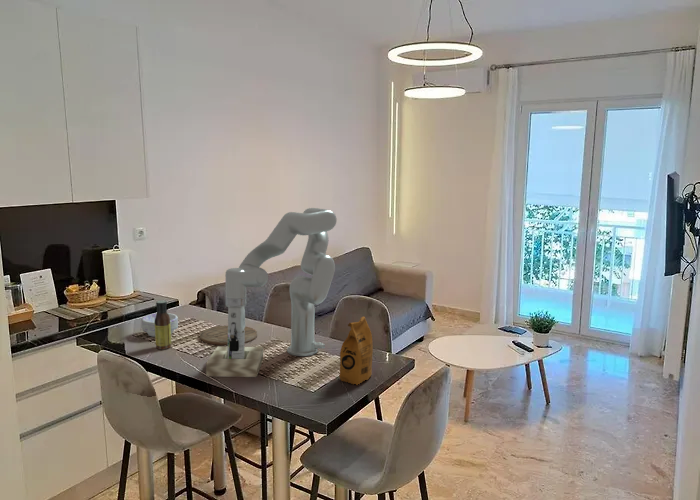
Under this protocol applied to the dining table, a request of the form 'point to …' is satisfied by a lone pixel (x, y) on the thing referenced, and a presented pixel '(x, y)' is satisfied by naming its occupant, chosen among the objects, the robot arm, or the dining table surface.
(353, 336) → the coffee package
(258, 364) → the socket block
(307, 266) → the robot arm
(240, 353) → the syrup box
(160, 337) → the sauce bottle
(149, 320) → the paper bowls
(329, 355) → the dining table surface
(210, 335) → the trivet
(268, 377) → the dining table surface
